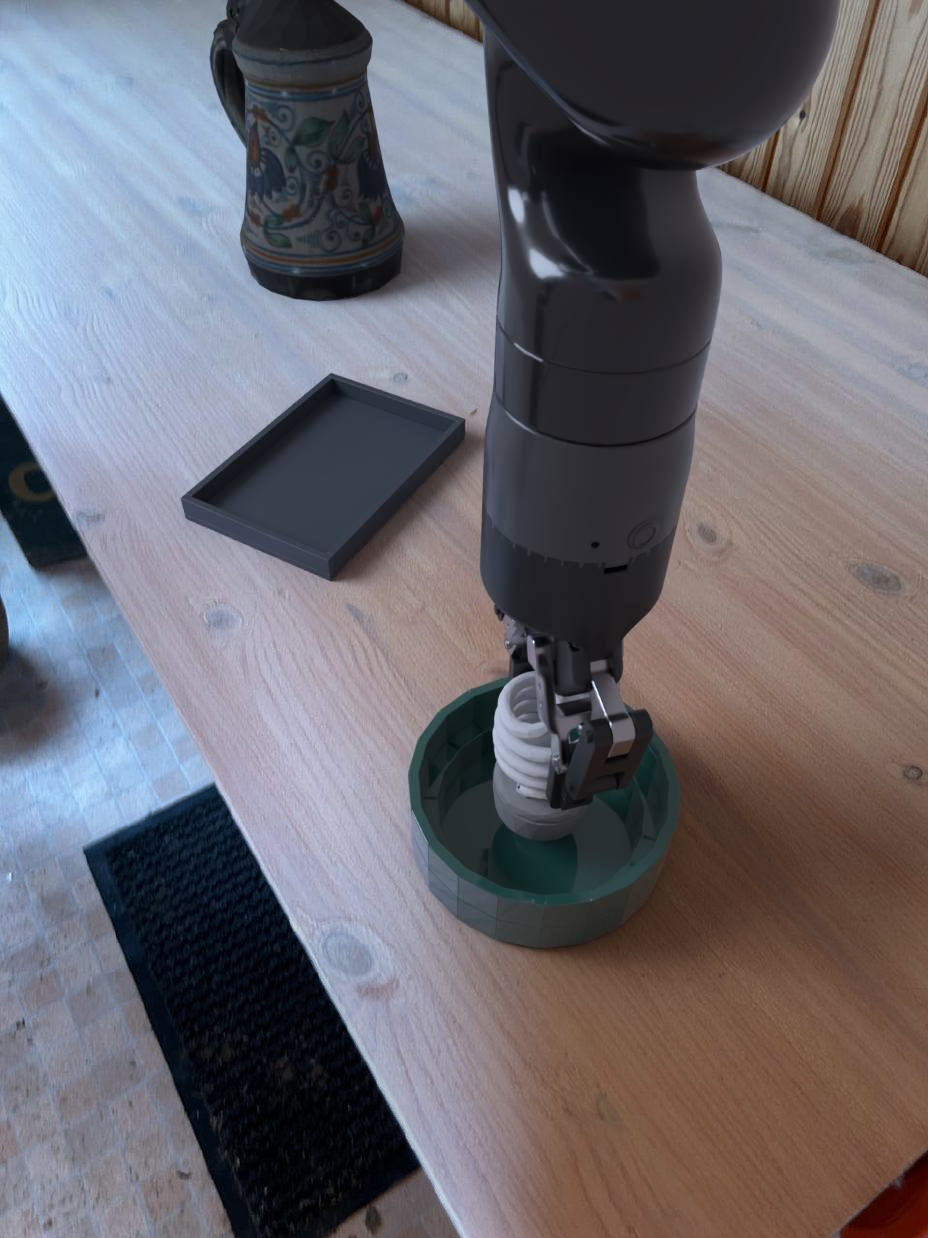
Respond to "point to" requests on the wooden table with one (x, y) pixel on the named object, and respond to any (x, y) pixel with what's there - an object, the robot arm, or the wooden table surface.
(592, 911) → the bowl
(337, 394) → the tray
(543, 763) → the light bulb
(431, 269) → the wooden table surface
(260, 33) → the beer stein
